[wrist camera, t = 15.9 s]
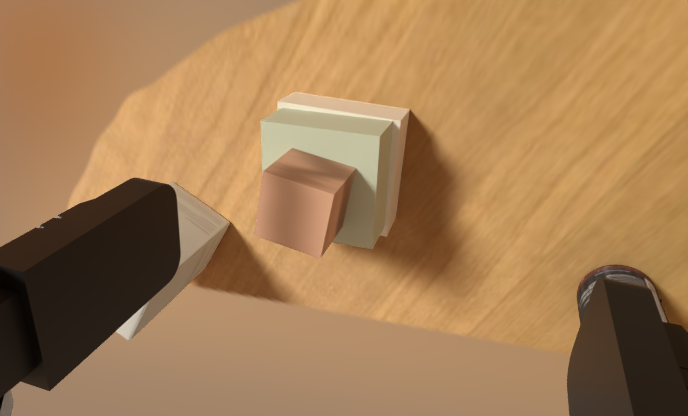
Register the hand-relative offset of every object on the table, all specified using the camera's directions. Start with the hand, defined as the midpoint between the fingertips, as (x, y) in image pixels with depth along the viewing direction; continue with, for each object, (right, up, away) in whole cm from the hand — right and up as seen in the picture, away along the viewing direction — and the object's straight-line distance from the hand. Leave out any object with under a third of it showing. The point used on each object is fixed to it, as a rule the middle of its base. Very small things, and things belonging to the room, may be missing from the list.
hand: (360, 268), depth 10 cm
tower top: (-1, +4, +34) cm, 34 cm away
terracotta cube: (-2, +3, +30) cm, 31 cm away
